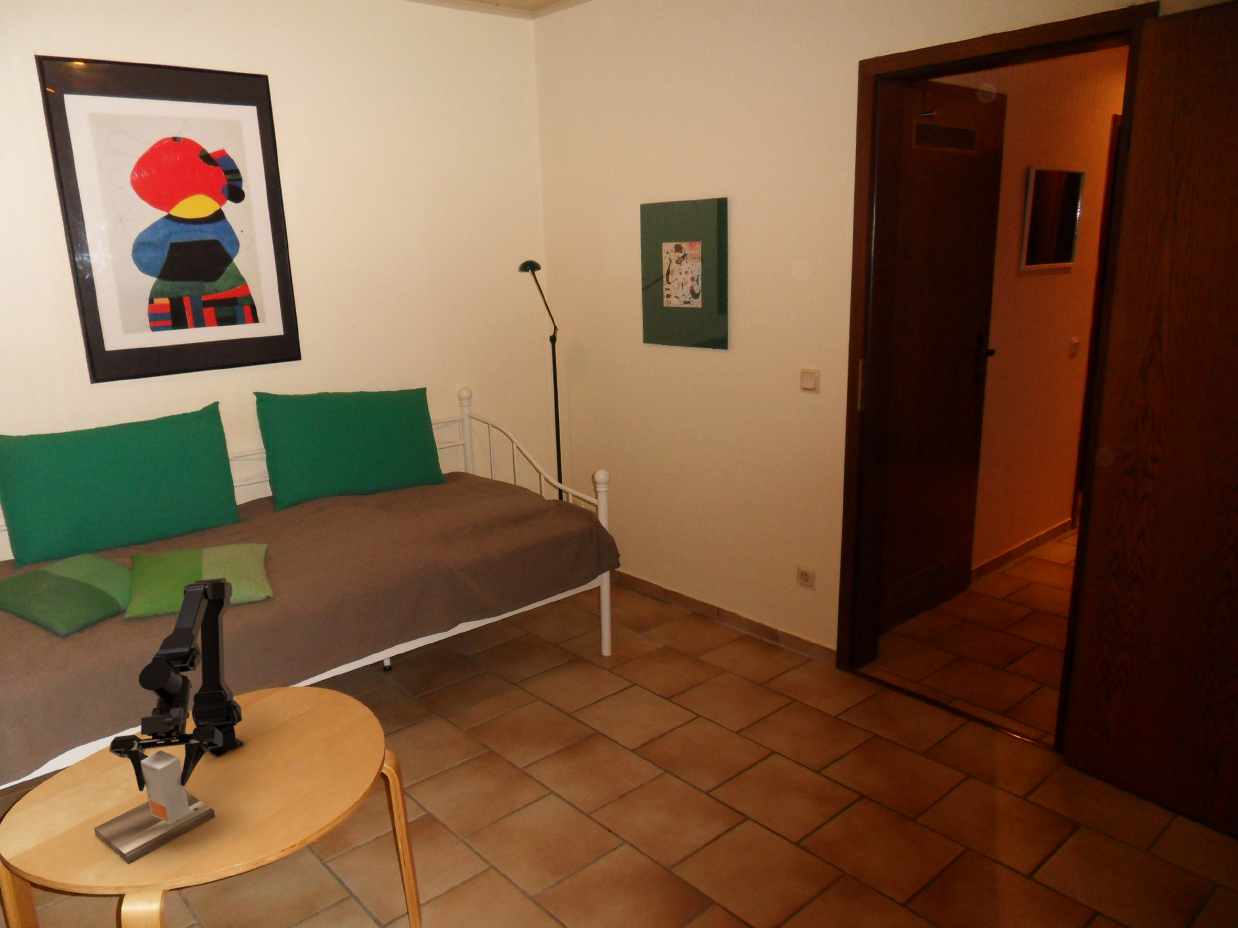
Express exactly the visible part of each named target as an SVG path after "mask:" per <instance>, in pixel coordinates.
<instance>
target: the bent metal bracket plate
mask: <svg viewBox="0 0 1238 928" xmlns="http://www.w3.org/2000/svg"><path fill="white" fill-rule="evenodd" d="M186 795H187V801H188V806H189V811H190V812H189V813H188V814H186V815H184V816H183V817H181V818H180V819H178V820H177V821H175V822H174V823H172V824H169V823H167V822H165V821H163V820H161V819H159V818H157V817H155V816H152V815H151V810H150V805H149V800H148V801H146V802H143V803H142V804H140V805H137V806H135V807H134V808H132V809H129V810H128V811H125V812H123V813H121V814H120V815H118V816H116V817H114V818H112V819H109V820H108V821H105V822H103V823H102V824H99V825H97V826H96V827H94V828H93V829H94V834H95V836H96V837H97V838H99V840H100V841H102V842H103V843H104V844H105V845H107V846H108V847H109V848H110V849H111V850H113V851H114V852H115V853H116V854H117V855H119V857H121V858H122V859H123V860H124V861H125V862H126V863H127V864H131V863H132V862H135V861H137V860H139V859H141V858H142V857H144V856H146V855H148V854H149V853H151V852H153V851H155V850H156V849H159V848H160V847H162V846H164V845H167V844H168V843H170V842H172V841H173V840H175V839H177V838H179V837H181V836H182V835H185V834H187V833H188V832H190V831H192V830H194V829H196V828H198V827H199V826H202V825H203V824H205V823H207V822H208V821H210V820H213V819H214V818H215V817H216V814H215V809H213V808H212V807H210V806H209V805H207V804H206V803H205V802H203V801H202V800H200V799H199V798H197V797H195V796H194V795H193V794H191V793H190V792H188V791H187V790H186Z"/></svg>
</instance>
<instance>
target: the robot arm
mask: <svg viewBox="0 0 1238 928" xmlns="http://www.w3.org/2000/svg"><path fill="white" fill-rule="evenodd" d="M232 595H233V585H232V583H231V582H229V581H227V579H226V578H225V577H220V578H208V579H198V580H195V581H194V583H193V582H192V583H188V584H186V585H184V588H183V598H182V603H181V605H180V609H179V612H178V615H177V617H176V622H175V623H174V624H175V625H174V627H173V631H172V633H170V634H168V636H167V637H165V638H164V639H163V640H162V642H161V643H160V646H159V648H158V651H156V653H155V655H154V656H153V657H152V659H151V661H150V663H148V664H146V665H145V666H144V668H143V669H141V671H140V673H139V675H138V683H139V685H140V686H141V688H143V689H144V690H145V691H146V692H147V693H149V694H150V695H151V696H153V697H154V698H156V703H155V707H154V708H152V710H151V715H147V716H142V717H141V718H140V735H141V736H143V735H144V736H145V735H146V736H147V737H150V738H143V739H142V738H140V737H138V736H137V735H136V734H128V735H120V736H119V735H118V736H115V737H114V738H112V740H111V742H110V744H109V745H110V746H109V753H112V754H113V755H115V756H117V757H118V758H120V759H121V758H123V759H125V758H126V759H128V760H129V761H130V762H131V765H132V768H133V771H134V775H135V778H136V784H137V787H138V791H139V792H143V791H145V790H144V789H145V788H146V785H145V781H144V776H143V771H142V766H141V761H142V760H144V759H145V758H147V757H149V756H150V755H149V756H148V755H147V754H145V752H146V750H149V749H150V750H151V749H157V748H166V747H176V746H182V745H183V746H184V751H185V752H184V753H185V754H184V755H185V756H184V760H183V765H182V776H181V786H185V787H186V785H187V783H188V781H189V779H190V777H191V776H192V774H193V772H194V770H195V768H196V767H197V765H198V764H199V762H200V761H201V759H202V757H203V756H205V754H206V753H209V754H211V755H212V756H213V757H216V758H218V757H221V756H224V755H225V754H227V753H229V752H233V750H236V749H238V748H240V747H242V746H243V745H244V742H243V741H242V740H241V739H239V738H237V736H236V730H235V726H237V725H238V723H240V722H242V721H243V716H242V706H241V705H240V704H239V703H238V702H237V701H236V700H234V693H233V691H232V689H231V688H230V687H229V685H228V683H227V682H226V679H225V651H224V650H225V647H224V646H225V645H224V643H225V641H224V616H225V615H226V612H227V611H228V609H229V608H230V606H231V598H232V597H233V596H232ZM199 634H200V646H199V643H198V636H199ZM200 663H201V686H200V687H199V689H198V691H196V692H195V693H194V696H193V705H192V708H191V717H192V720H193V723H194V726H195V727H194V729H193V730H192V733H187V732H186V729H187V722H188V719H190V712H188V711H189V704H190V694H191V689H192V688H193V683H192V681H191V680H190V679H189V678H188V675H184V674H181V673H185V672H186V673H187V672H193V671H195V670H197V668H198V666H199V665H200Z"/></svg>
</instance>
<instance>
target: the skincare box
mask: <svg viewBox="0 0 1238 928" xmlns="http://www.w3.org/2000/svg"><path fill="white" fill-rule="evenodd" d="M141 766H142V771H143V776H144V781H145V789H146V794H147V800H148V801H149V805H150V810H151V815H152V816H155V817H157V818H159V819H161V820H163V821H165V822H167V823H169V824H172V823H174V822H175V821H177V820H178V819H180V818H181V817H183V816H184V815H186V814H188V813H189V812H190V811H189V806H188V801H187V795H186V791H187V790H186V785H185V786H181V776H182V771H183V769H182V765H181V761H180V758H179V757H177V756H175V755H173V754H171V753H169V752H166V751H163V750H161V749H160V750H158V751H156V752H155V753H153V754H150V755H149V757H147V758H145V759H144V760H142V761H141Z"/></svg>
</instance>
